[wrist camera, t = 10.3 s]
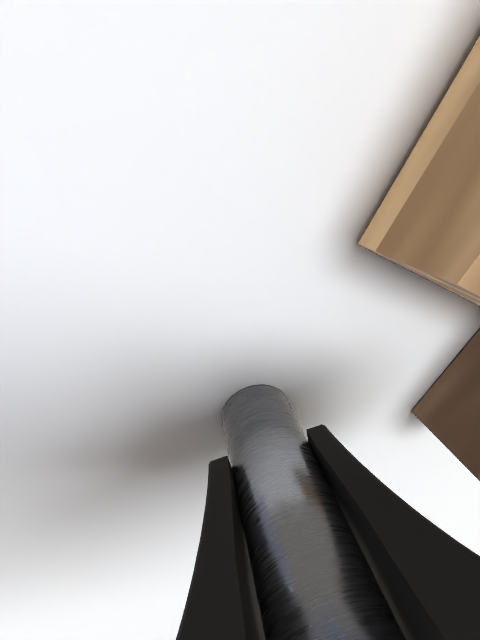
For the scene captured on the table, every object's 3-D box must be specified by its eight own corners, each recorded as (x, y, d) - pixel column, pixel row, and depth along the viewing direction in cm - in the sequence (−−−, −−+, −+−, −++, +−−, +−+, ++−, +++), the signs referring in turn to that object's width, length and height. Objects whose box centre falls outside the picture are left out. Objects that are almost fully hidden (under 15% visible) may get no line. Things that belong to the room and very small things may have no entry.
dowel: (210, 430, 13) (256, 739, 6) (239, 378, 12) (334, 677, 5) (268, 440, 14) (364, 711, 7) (299, 393, 13) (447, 656, 6)
